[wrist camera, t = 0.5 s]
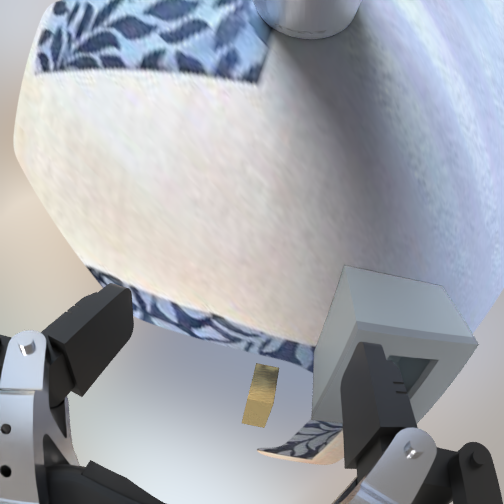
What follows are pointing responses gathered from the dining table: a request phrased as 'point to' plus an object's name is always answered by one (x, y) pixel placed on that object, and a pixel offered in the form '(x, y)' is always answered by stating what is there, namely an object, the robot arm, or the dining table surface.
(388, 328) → the grey hollow block
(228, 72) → the dining table surface
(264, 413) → the gold flat square block
